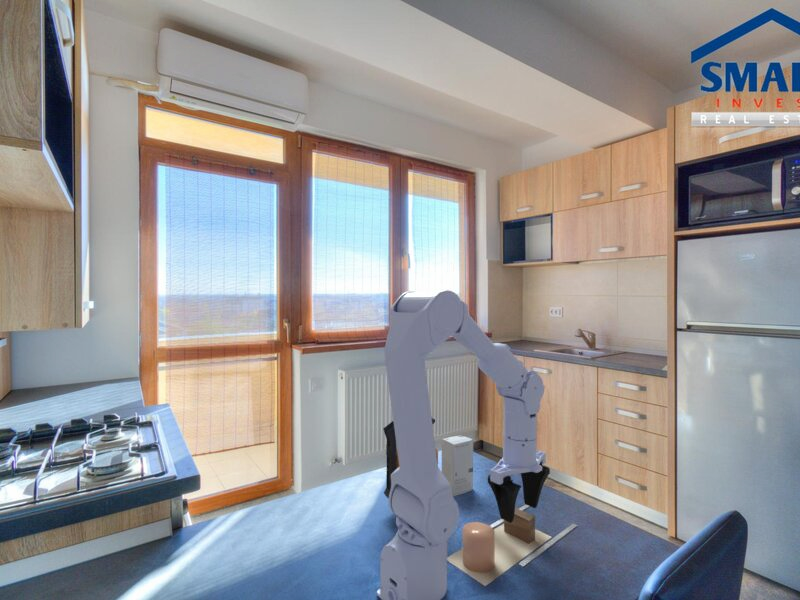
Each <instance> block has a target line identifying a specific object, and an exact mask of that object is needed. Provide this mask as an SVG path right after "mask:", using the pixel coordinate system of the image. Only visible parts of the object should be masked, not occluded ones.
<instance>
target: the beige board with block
mask: <svg viewBox="0 0 800 600" xmlns="http://www.w3.org/2000/svg"><path fill="white" fill-rule="evenodd" d="M493 529H494V532H495V566H494V568H493V569H492V570H491V571H489V572H486V573H478V572H474V571H471V570H469V569H468V568H466V567H465V566H464V564H463V547H462V548H461V549H459V550H457V551H456V552H454V553H452V554H451V555H449V556H447V563H448V562H449V563H450V564H451V565H453V566H454V567H456V568H458V570H460V571H462V572H463V573H465V574H466V575H467V576H469V577H471V578H472V579H473V580H475V581H477V582H478V583H480V584H481V585H483V586H484V587H486V586H488V585H489V584H491V583H492V582H493V581H495V579H497V578H498V577H500V576H502V575H503V574H504V573H506V572H507V571H508V570H510V569H511V568H513V567H514V566H515V565H517V564H519V563H520V562H521V561H523V560H524V559H525V558H527V557H528V556H530V555H531V554H532V553H534V552H535V551H536V550H538V549H539V548H540V547H542V546H543V545H545V544H546V543H547V541H548V542H549V541H550V540H551V539H553V537H552V536H550V535H548V534H546V533H544V532H543V531H540V530H538V529H536V516H535V515H533V514H530V513H528V512H526V511H525V510H523V511H522V510H519V508H517V507H515V513H514V519H513V522H511V523H509V522H507V521H505V520H504V522H503V523H501V524H500V525H498V526H496V527H495V528H493Z"/></svg>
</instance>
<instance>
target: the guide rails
mask: <svg viewBox="0 0 800 600" xmlns="http://www.w3.org/2000/svg"><path fill="white" fill-rule="evenodd" d="M530 507H531V506H528V505H526V504H525V505H522V506H521V507H519V508H518V509H519V510H522V511H525V510H526V509H529V508H530ZM502 524H504V520H503V519H501V518H500V519H498V520H497V521H495V522H493V523H492V524H490V525H489V526H490V527H492V528H493V529H495V528H497V527H499V526H501V525H502ZM577 527H578V525H577V524H575V523H571V524H570V525H569V526H568V527H566V528H565V529H563V530H562V531H561V532H559V533H558V534H557V535H555V536H554V537H552V538H550V539H549V540H548V542H547V541H546V542H545V543H544V544H542V545H541V546H540V547H538V548H537V549H535V550H534V551H533V552H531V553H530V554H529V555H527V556H526V557H525V558H523V559H522V560H521V561H519V562H518V565H519V566H521V567H522V568H525V566H527V565H528V564H529V563H531V562H533V560H535V559H536V558H537V557H539V556H540V555H541V554H543V553H544V552H546V551H547V550H548V549H549V548H550V547H552V546H553V545H554V544H556V543H557V542H558V541H560V540H561V539H562V538H564V537H565V536H566V535H568V534H569V533H570V532H571V531H573V530H574V529H575V528H577Z"/></svg>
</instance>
